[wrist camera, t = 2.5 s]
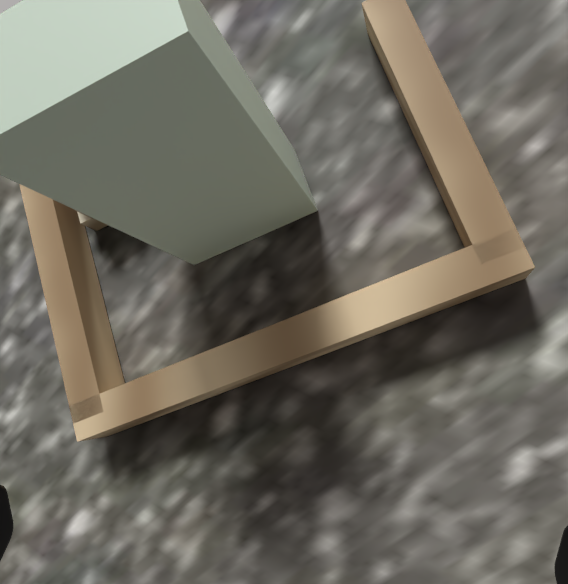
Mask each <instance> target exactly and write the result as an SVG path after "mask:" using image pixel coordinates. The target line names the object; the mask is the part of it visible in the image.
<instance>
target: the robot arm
mask: <svg viewBox="0 0 568 584" xmlns="http://www.w3.org/2000/svg"><path fill="white" fill-rule="evenodd" d="M12 532H13V519H12V514H11V509H10V504H9V499H8V494H7V491H6V489H5V487H4V486H2V485H0V561H1V559H2V556H3V554H4V552H5V550H6V548H7V546H8V544H9V541H10V539H11V536H12ZM555 577H556V581H557V584H568V526H567V527H566V528H565V529H564V532H563V535H562V539H561V543H560V546H559V550H558V554H557V557H556V561H555Z"/></svg>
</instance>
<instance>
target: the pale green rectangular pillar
mask: <svg viewBox="0 0 568 584" xmlns="http://www.w3.org/2000/svg"><path fill="white" fill-rule="evenodd" d="M0 175H1V176H4V177H6V178H8V179H10V180H12V181H14V182H16V183H19V184H21V185H23V186H25V187H27V188H29V189H32V190H34V191H36V192H38V193H40V194H42V195H44V196H47V197H49V198H51V199H53V200H55V201H57V202H59V203H62V204H64V205H66V206H68V207H70V208H72V209H74V210H77V211H79V212H81V213H83V214H85V215H87V216H90V217H92V218H94V219H96V220H98V221H100V222H102V223H105V224H107V225H109V226H111V227H113V228H115V229H117V230H120V231H122V232H124V233H126V234H128V235H130V236H132V237H135V238H137V239H139V240H141V241H143V242H145V243H147V244H150V245H152V246H154V247H156V248H158V249H160V250H163V251H165V252H167V253H169V254H171V255H173V256H175V257H178V258H180V259H182V260H184V261H186V262H188V263H190V264H193V265H196V264H198V263H200V262H203V261H205V260H207V259H209V258H212V257H214V256H216V255H219V254H221V253H223V252H225V251H228V250H230V249H232V248H234V247H237V246H239V245H241V244H243V243H246V242H248V241H250V240H253V239H255V238H257V237H259V236H262V235H264V234H266V233H268V232H271V231H273V230H275V229H278V228H280V227H282V226H284V225H287V224H289V223H291V222H293V221H296V220H298V219H300V218H302V217H305V216H307V215H309V214H312V213H314V212H316V211H318V210H317V207H316V204H315V202H314V199H313V197H312V194H311V191H310V189H309V186H308V183H307V181H306V178H305V176H304V173H303V170H302V168H301V165H300V163H299V160H298V157H297V155H296V152H295V150H294V148H293V147H292V145H291V144H290V142H289V140H288V139H287V137H286V136H285V134H284V132H283V131H282V129H281V128H280V126H279V125H278V123H277V121H276V120H275V118H274V117H273V115H272V114H271V112H270V110H269V109H268V107H267V106H266V104H265V102H264V101H263V99H262V98H261V96H260V95H259V93H258V91H257V90H256V88H255V87H254V85H253V83H252V82H251V80H250V79H249V77H248V76H247V74H246V72H245V71H244V69H243V68H242V66H241V64H240V63H239V61H238V60H237V58H236V57H235V55H234V53H233V52H232V50H231V49H230V47H229V45H228V44H227V42H226V41H225V39H224V38H223V36H222V34H221V33H220V31H219V30H218V28H217V26H216V25H215V23H214V22H213V20H212V19H211V17H210V15H209V14H208V12H207V11H206V9H205V8H204V6H203V4H202V3H201V1H200V0H22V1H21V2H19V3H18V4H16V5H14V6H13V7H11V8H9V9H8V10H6V11H4V12H3V13H1V14H0Z"/></svg>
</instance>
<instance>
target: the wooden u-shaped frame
mask: <svg viewBox="0 0 568 584" xmlns="http://www.w3.org/2000/svg"><path fill="white" fill-rule="evenodd" d="M362 8H363V12H364V17H365V22H366V27H367V32H368V35H369V38H370V40H371V42H372V44H373V46H374V49H375V51H376V53H377V55H378V58H379V60H380V62H381V64H382V66H383V69H384V71H385V73H386V75H387V77H388V80H389V82H390V84H391V86H392V88H393V91H394V93H395V95H396V97H397V99H398V102H399V104H400V106H401V108H402V110H403V113H404V115H405V117H406V119H407V121H408V124H409V126H410V128H411V130H412V132H413V135H414V137H415V139H416V141H417V143H418V146H419V148H420V150H421V152H422V154H423V157H424V159H425V161H426V163H427V165H428V168H429V170H430V172H431V174H432V176H433V179H434V181H435V183H436V185H437V187H438V190H439V192H440V194H441V196H442V198H443V201H444V203H445V205H446V207H447V209H448V212H449V214H450V216H451V218H452V220H453V223H454V225H455V227H456V229H457V231H458V234H459V236H460V238H461V240H462V242H463V245H464V247H465V248H463V249H461V250H458V251H456V252H453V253H451V254H448V255H446V256H443V257H441V258H438V259H436V260H433V261H431V262H428V263H426V264H423V265H421V266H418V267H416V268H413V269H411V270H408V271H406V272H403V273H401V274H398V275H396V276H393V277H391V278H388V279H386V280H383V281H381V282H378V283H375V284H373V285H370V286H368V287H365V288H363V289H360V290H358V291H355V292H353V293H350V294H348V295H345V296H343V297H340V298H338V299H335V300H333V301H330V302H328V303H325V304H323V305H320V306H318V307H315V308H313V309H310V310H308V311H305V312H303V313H300V314H298V315H295V316H293V317H290V318H288V319H285V320H283V321H280V322H278V323H275V324H273V325H270V326H268V327H265V328H263V329H260V330H258V331H255V332H253V333H250V334H248V335H245V336H243V337H240V338H238V339H235V340H233V341H230V342H228V343H225V344H223V345H220V346H218V347H215V348H213V349H210V350H208V351H205V352H203V353H200V354H198V355H195V356H193V357H190V358H188V359H185V360H183V361H180V362H178V363H175V364H173V365H170V366H168V367H165V368H163V369H160V370H158V371H155V372H153V373H150V374H148V375H145V376H143V377H140V378H138V379H135V380H133V381H130V382H128V383H125V382H124V378H123V374H122V370H121V366H120V362H119V358H118V354H117V350H116V347H115V343H114V339H113V335H112V331H111V327H110V323H109V319H108V315H107V311H106V307H105V303H104V299H103V296H102V292H101V288H100V284H99V280H98V276H97V272H96V268H95V264H94V260H93V256H92V252H91V248H90V244H89V241H88V237H87V233H86V229H85V226H84V225H82V224H80V220H79V216H78V212H77V211H75V210H74V209H72V208H70V207H68V206H66V205H64V204H62V203H59V202H57V201H55V200H53V199H51V198H49V197H47V196H44V195H42V194H40V193H38V192H36V191H34V190H32V189H29V188H27V187H25V186H23V185H21V184H20V189H21V193H22V198H23V202H24V207H25V211H26V216H27V220H28V225H29V229H30V233H31V238H32V242H33V247H34V251H35V256H36V260H37V265H38V269H39V273H40V278H41V282H42V287H43V291H44V296H45V300H46V305H47V309H48V314H49V318H50V322H51V327H52V331H53V336H54V340H55V345H56V349H57V354H58V358H59V363H60V367H61V371H62V376H63V380H64V385H65V389H66V394H67V398H68V403H69V407H70V412H71V416H72V420H73V425H74V429H75V434H76V438H77V442H78V441H84V440H90V439H96V438H102V437H107V436H110V435H112V434H115V433H118V432H120V431H123V430H126V429H128V428H131V427H134V426H136V425H139V424H142V423H144V422H147V421H149V420H152V419H155V418H157V417H160V416H163V415H165V414H168V413H171V412H173V411H176V410H179V409H181V408H184V407H187V406H189V405H192V404H195V403H197V402H200V401H202V400H205V399H208V398H210V397H213V396H216V395H218V394H221V393H224V392H226V391H229V390H232V389H234V388H237V387H240V386H242V385H245V384H247V383H250V382H253V381H255V380H258V379H261V378H263V377H266V376H269V375H271V374H274V373H277V372H279V371H282V370H285V369H287V368H290V367H292V366H295V365H298V364H300V363H303V362H306V361H308V360H311V359H314V358H316V357H319V356H322V355H324V354H327V353H330V352H332V351H335V350H337V349H340V348H343V347H345V346H348V345H351V344H353V343H356V342H359V341H361V340H364V339H367V338H369V337H372V336H375V335H377V334H380V333H382V332H385V331H388V330H390V329H393V328H396V327H398V326H401V325H404V324H406V323H409V322H412V321H414V320H417V319H420V318H422V317H425V316H427V315H430V314H433V313H435V312H438V311H441V310H443V309H446V308H449V307H451V306H454V305H457V304H459V303H462V302H465V301H467V300H470V299H472V298H475V297H478V296H480V295H483V294H486V293H488V292H491V291H494V290H496V289H499V288H502V287H504V286H507V285H510V284H512V283H515V282H517V281H520V280H523V279H525V278H526V277H527V276H528V275H529V274H530V273H531V272H532V270H533V269H534V268H535V266H534V264H533V262H532V260H531V258H530V256H529V254H528V252H527V250H526V248H525V246H524V243H523V241H522V239H521V237H520V235H519V233H518V231H517V229H516V227H515V225H514V223H513V221H512V219H511V217H510V215H509V213H508V211H507V209H506V206H505V204H504V202H503V200H502V198H501V196H500V194H499V192H498V190H497V188H496V186H495V184H494V182H493V180H492V178H491V176H490V174H489V172H488V169H487V167H486V165H485V163H484V161H483V159H482V157H481V155H480V153H479V151H478V149H477V147H476V145H475V143H474V141H473V139H472V137H471V135H470V132H469V130H468V128H467V126H466V124H465V122H464V120H463V118H462V116H461V114H460V112H459V110H458V108H457V106H456V104H455V102H454V100H453V98H452V95H451V93H450V91H449V89H448V87H447V85H446V83H445V81H444V79H443V77H442V75H441V73H440V71H439V69H438V67H437V65H436V63H435V61H434V58H433V56H432V54H431V52H430V50H429V48H428V46H427V44H426V42H425V40H424V38H423V36H422V34H421V32H420V30H419V28H418V26H417V24H416V21H415V19H414V17H413V15H412V13H411V11H410V9H409V7H408V5H407V3H406V1H405V0H366V1H365V2H363V3H362Z"/></svg>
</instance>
